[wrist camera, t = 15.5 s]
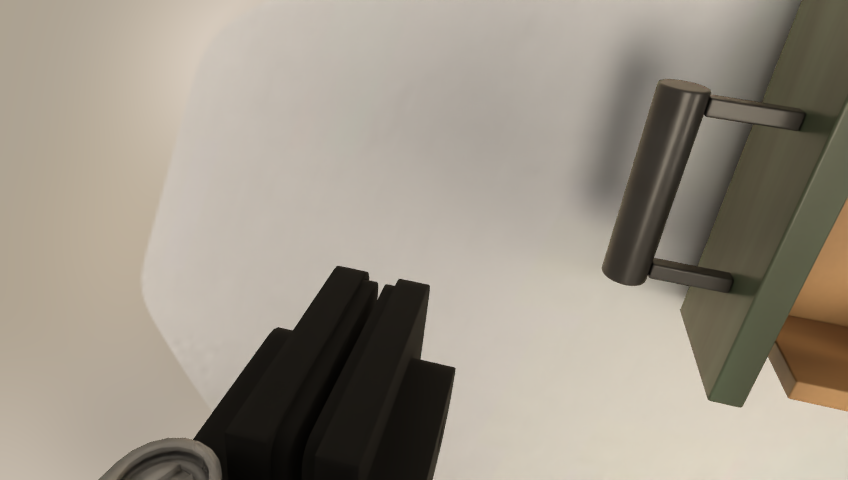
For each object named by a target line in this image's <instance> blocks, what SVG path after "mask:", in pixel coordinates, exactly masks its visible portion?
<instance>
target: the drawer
mask: <svg viewBox="0 0 848 480" xmlns="http://www.w3.org/2000/svg"><path fill="white" fill-rule="evenodd" d="M703 115H705V116H706V117H711V118H718V119H724V120H730V121H736V122H742V123H748V124H753V126H752V129H751V131H750V134H749V136H748V139H747V141H746V144H745V146H744V149H743V152H742V154H741V157H740V159H739V162H738V164H737V167H736V169H735V172H734V174H733V177H732V180H731V182H730V185H729V187H728V190H727V192H726V195H725V197H724V200H723V202H722V205H721V208H720V210H719V213H718V215H717V218H716V220H715V223H714V225H713V228H712V230H711V233H710V236H709V238H708V241H707V243H706V246H705V248H704V251H703V253H702V256H701V259H700V261H699V264H698V266H694V265H688V264H683V263H678V262H673V261H668V260H663V259H657V258H654V256H655V253H656V250H657V247H658V244H659V242H660V239H661V236H662V233H663V230H664V227H665V224H666V221H667V219H668V216H669V213H670V210H671V207H672V204H673V201H674V198H675V196H676V193H677V190H678V187H679V184H680V181H681V178H682V175H683V172H684V170H685V167H686V164H687V161H688V158H689V155H690V152H691V149H692V147H693V144H694V141H695V138H696V135H697V132H698V129H699V126H700V124H701V121H702V118H703ZM602 271H603V273H604V274H605V275H606V276H607V277H608V278H609V279H611V280H613V281H615V282H617V283H620V284H624V285H629V286H637V285H641V284H643V283H644V282H645V281H646V279H647V276H649V278H652V279H657V280H662V281H667V282H672V283H677V284H682V285H687V286H690V287H689V289H688V292H687V294H686V297H685V299H684V302H683V304H682V307H681V309H680V312H681V315H682V318H683V321H684V324H685V328H686V331H687V334H688V337H689V340H690V344H691V347H692V350H693V353H694V356H695V360H696V363H697V366H698V369H699V373H700V376H701V379H702V382H703V385H704V389H705V392H706V395H707V398H708V400H710V401H713V402H718V403H722V404H727V405H731V406H736V407H742V406H743V404H744V402H745V400H746V398H747V396H748V394H749V392H750V390H751V388H752V386H753V384H754V383H755V381H756V379H757V377H758V375H759V373H760V371H761V369H762V367H763V365H764V363H765V361H766V359H767V357H768V358H769V360H770V362H771V364H772V366H773V368H774V370H775V372H776V374H777V376H778V378H779V380H780V382H781V384H782V387H783V389H784V391H785V393H786V395H787V397H788V398H789V399H794V400H798V401H803V402H807V403H812V404H817V405H821V406H826V407H830V408H835V409H840V410H844V411H848V0H802V1H801V4H800V6H799V9H798V11H797V14H796V16H795V19H794V22H793V24H792V27H791V29H790V32H789V34H788V37H787V39H786V42H785V44H784V47H783V50H782V52H781V55H780V57H779V60H778V62H777V65H776V67H775V70H774V73H773V75H772V78H771V80H770V83H769V85H768V88H767V90H766V93H765V95H764V98H763V101H762V102H756V101H749V100H743V99H737V98H730V97H724V96H717V95H711V90H710V89H708V88H707V87H705V86H702V85H699V84H696V83H692V82H688V81H683V80H675V79H662V80H659V81H658V83H657V86H656V89H655V93H654V96H653V99H652V103H651V106H650V109H649V113H648V116H647V119H646V123H645V126H644V129H643V133H642V136H641V139H640V143H639V146H638V149H637V153H636V156H635V159H634V162H633V166H632V169H631V172H630V176H629V179H628V182H627V186H626V189H625V192H624V196H623V199H622V202H621V206H620V209H619V212H618V216H617V219H616V222H615V226H614V229H613V232H612V236H611V239H610V242H609V246H608V249H607V252H606V255H605V259H604V262H603V265H602Z"/></svg>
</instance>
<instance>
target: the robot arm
mask: <svg viewBox="0 0 848 480" xmlns="http://www.w3.org/2000/svg"><path fill="white" fill-rule="evenodd" d="M429 291H430V286H429V285H427V284H422V283H418V282H413V281H408V280H403V279H399V280H398V281H397V283H396V285H395V286H392V285H388V284H386V285H385V286H384V288H383V290H382V292H381V294H380V296H379V298H378V300H377V297H378V283H377V282H374V281H369V274H368V272H365V271H361V270H356V269H351V268H346V267H342V266H337V267H336V268H335V269H334V270H333V272H332V273H331V275H330V276H329V278H328V279H327V281H326V282H325V284H324V285H323V287H322V288H321V290H320V291H319V293H318V294H317V296H316V297H315V298H314V300H313V301H312V303H311V304H310V306H309V307H308V309H307V310H306V312H305V313H304V315H303V316H302V318H301V319H300V321H299V322H298V324H297V325H296V327H295V328H294V330H293V331H292V330H288V329H283V328H279V327H278V328H276V329H274V330H273V331H272V332H271V333H270V334H269V335H268V337H267V338H266V339H265V341H264V342H263V344H262V345H261V346H260V348H259V349H258V350H257V352H256V353H255V355H254V356H253V357H252V359H251V360H250V362H249V363H248V364H247V366H246V367H245V368H244V370H243V371H242V373H241V374H240V375H239V377H238V378H237V379H236V381H235V382H234V384H233V385H232V386H231V388H230V389H229V391H228V392H227V393H226V395H225V396H224V397H223V399H222V400H221V402H220V403H219V404H218V406H217V407H216V408H215V410H214V411H213V413H212V414H211V416H210V417H209V418H208V419H207V421H206V422H205V424H204V425H203V426H202V428H201V429H200V431H199V432H198V433H197V435H196V436H195V438H194V439H193V440H191V439H186V438H166V439H162V440H158V441H154V442H150V443H147V444H145V445H143V446H141V447H139V448H137V449H135V450H132V451H131V452H130V453H128V454H127V455H126V456H124V457H123V458H122V459H120V460H119V461H118V462H117V463H115V464H114V465H113V466H112V467H111V468H110V469H109V470H108V471H107V472H106V473H105V474H104V475H103V476H102V477H101V478H100V479H99V480H433V476H434V472H435V468H436V463H437V459H438V455H439V451H440V447H441V442H442V438H443V433H444V429H445V424H446V419H447V414H448V409H449V404H450V399H451V393H452V387H453V382H454V376H455V368H454V367H450V366H446V365H441V364H437V363H432V362H428V361H424V360H420V358H421V351H422V344H423V336H424V329H425V322H426V314H427V307H428V300H429Z"/></svg>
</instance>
